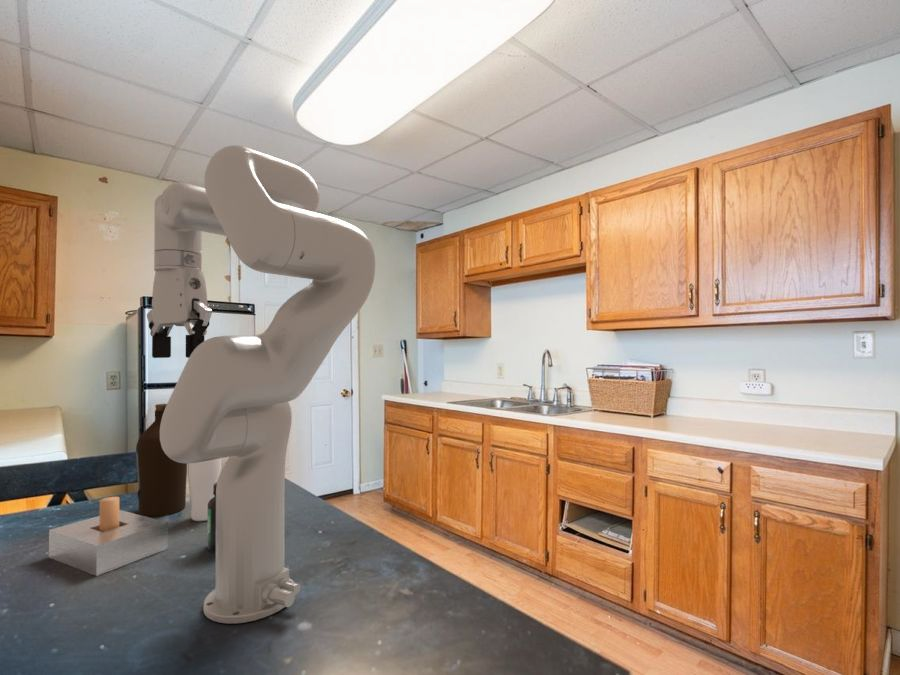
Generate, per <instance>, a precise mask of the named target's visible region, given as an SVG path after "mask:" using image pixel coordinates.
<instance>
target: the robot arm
mask: <svg viewBox="0 0 900 675" xmlns="http://www.w3.org/2000/svg"><path fill="white" fill-rule="evenodd" d="M317 185H318V184H317V183H316V182H315V180H314V178H313V177H312V176H311V175H310V174H309V173H308V172H307V171H305V170H304V169H302V168H301V167H300V166H299V165H298V166H297V165H296V164H293V163H291V162H289V161H286V160H283V159H280V158H277V157H274V156H272V155H269V154H266V153H262V152H260V151H257V150H254V149H251V148H250V147H247V146H242V145H229V146H228V145H227V146H225V147H222V148H220V149H218V150H217V151H216V152H215V153H214V154H212V156H211V158H210V160H209V161H208V163H207V166H206V169H205V171H204V186H199V185H194V184H191V183H187V182H183V181H176V182H175V181H174V182H172V183H170V184H169V185H168V186H167V187H166V188H165V189H164V190H162V194H160V195H158V196H157V197H156V198H155V200H154V238H153V239H154V241H153V242H154V243H153V244H154V246H153V247H154V248H153V249H154V250H153V251H154V252H153V253H154V256H153V258H154V260H153V269H154V270H153V271H154V278H153V284H152V285H153V286H152V296H151V297H152V299H151V309H150V310H149V312H147V314H146V319H147V321H148V328H149V331H150V336H151V338H152V339H151V343H152V344H151V357H152V358H153V359H163V358H164V359H167V358H171V356H172V336H169V334H170V333H171V331H172V330H173V327H174V326H176V327H184V328H185V330H186V331H187V333H188V334H185V358H186V359H187V361H186V363H185V365H184V367H183V369H182V371H181V373H180V376H179V378H178V379H177V382H176V383H175V386H174V389H173V390H172V393H171V395H170V397H169V398H168V399H169V400H168V401H167V403H166V404H167V405H166V408H165V410H164V413H163V416H162V420H161V425H160V442H161V446H162V449H163V451H164V452H165V454H166V455H167V456H168V457H169V458H170V459H172V460H174V461H176V462H179V463H187V465H188V464H189V463H198V462H204V461H209V460H214V459H219V458H222V459H224V458H227V460H226V462H225V463H224V465H223V468H221V473H220V476H219V479H218V482H217V487H216V552H215V588H214V589H212V590H211V592H209V593H208V594H207V596H205V599H204V601H203V614H204V615H205V616H206V617H205V618H207V619H209V620H211V621H213V622H217V623H219V624H227V625H229V624H231V625H232V624H244V623H245V624H246V623H249V622H253V621H258V620H261V619H264V618H267V617H270V616H272V615H273V614H276V613H277V612H280V611H282V609H284V608H289V607H291V606H293V604H294V602H295V600H296V595H298V594H299V593H300V591H301V588H302V587H301V584H299V583H297V582H295V581H294V580H293V579H292V578H290V568H288V567H285V566H286V565H285V559H286V558H285V556H286V555H285V554H286V552H285V544H286V543H285V542H286V540H285V539H286V538H285V536H286V535H285V534H286V533H285V532H286V530H285V522H286V521H285V518H286V517H285V513H286V512H285V492H286V491H285V490H286V488H285V487H286V484H285V483H286V479H285V478H286V477H285V476H286V460H287V459H286V458H287V451H288V450H287V449H288V444H289V438H290V433H291V428H292V415H293V414H292V408H291V406H290V405H291V404H290V402H291V401H294V400H296V399H297V398H299V396H300V395H301V394H303V392H304V391H305V390H306V388H307V387H308V385H309V384H310V383H311V381H312V379H313V377H314V376H315V375H316V373H317V372H318V370H319V369H320V367H321V365H322V364H323V362H324V360H325V359H326V358H327V356H328V355H329V353H330V351H331V349H332V347H333V346H334V344H335V343H336V341H337V340H338V338H339V337H340V335H341V334H342V333H343V332H344V330H345V329H346V328H347V327H348V325H349V324H350V323H351V322H352V321H353V320H354V318H355V317H356V316H357V315H358V313H359V312H360V310H361V309H362V308H363V306H364V304H365V303H366V301H367V299H368V297H369V296H370V292H371V290H372V288H373V284H374V281H375V277H376V276H375V274H376V256H375V255H376V254H375V252H374V251H375V250H374V246H373V245H372V242H371V240H370V239H369V237H368V236H367V235H366V233H364V231H362V230H361V229H359V228H358V227H357V226H355V225H353V224H352V223H348V222H347V221H344V220H341V219H339V218H336V217H332V216H329V215H326V214H322V213H320V212H319V213H318V212H316V211H317V209H318V207H319V203H320V191H319V188H318V186H317ZM203 232H204V233H209V234H214V235H220V236H224V237H226V238H227V239H228V242H229V244H230V246H231V248H232V250H233V251H234V253H235V255H236V257H238V259H239V261H241V262H242V264H243V265H245V266H246V267H247V268H250V269H251V270H253V271H255V272H259V273H264V274H270V275H278V276H285V277H292V278H299V279H308V280H312V281H311V282H310V284H308V285H307V286H305V287H303V288H302V289H300V290H298V291H297V292H296V293H294V294H293V295H291V296H290V297H289V298H288V299H287V300H285V302H283V303H282V304H281V306H280V307H279V308H278V310H277V311H276V313H275V314H274V316H273V318H272V320H271V322H270V323H269V325H268V326H267V328H266V329H265V330H264V332H262V333H259V334H256V335H255V334H254V335H219V336H213V337H210V338H208V339H206V340H205V336H206V335H207V333H208V332H207V329H208V327H209V326H210V319H211V317H212V315H213V310H212V309H211V308H210V307H208V293H207V284H206V280H205V279H206V278H205V274H204V271H203V270H202V259H203V258H202V256H203V255H202V233H203Z"/></svg>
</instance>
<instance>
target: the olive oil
mask: <svg viewBox="0 0 900 675" xmlns="http://www.w3.org/2000/svg"><path fill="white" fill-rule="evenodd" d="M166 405H167V403H157V404H155V405H154V406H155V410H154V421H153V422H152V423H151V424H150V426H148V427H147V428H146V429H145V430H144V432H142V434H140V436H139V438H138V439H137V443H136V446H135V447H136V448H135V454H136V457H135V458H136V474H137V476H136V477H137V499H138V515H142V516H145V517H149V518H152V517H161V516H163V517H164V516H167V515H171V514H175V513H178V512H181V511H182V510H184V509H185V508H186V503H187V502H186V495H187V494H186V493H187V478H188V464H187V463H179V462H176V461H174V460H172V459H170V458H169V457H168V456H167V455H166V454H165V452H164V451H163V449H162V446H161V442H160V425H161V420H162V416H163V413H164V410H165V408H166Z"/></svg>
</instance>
